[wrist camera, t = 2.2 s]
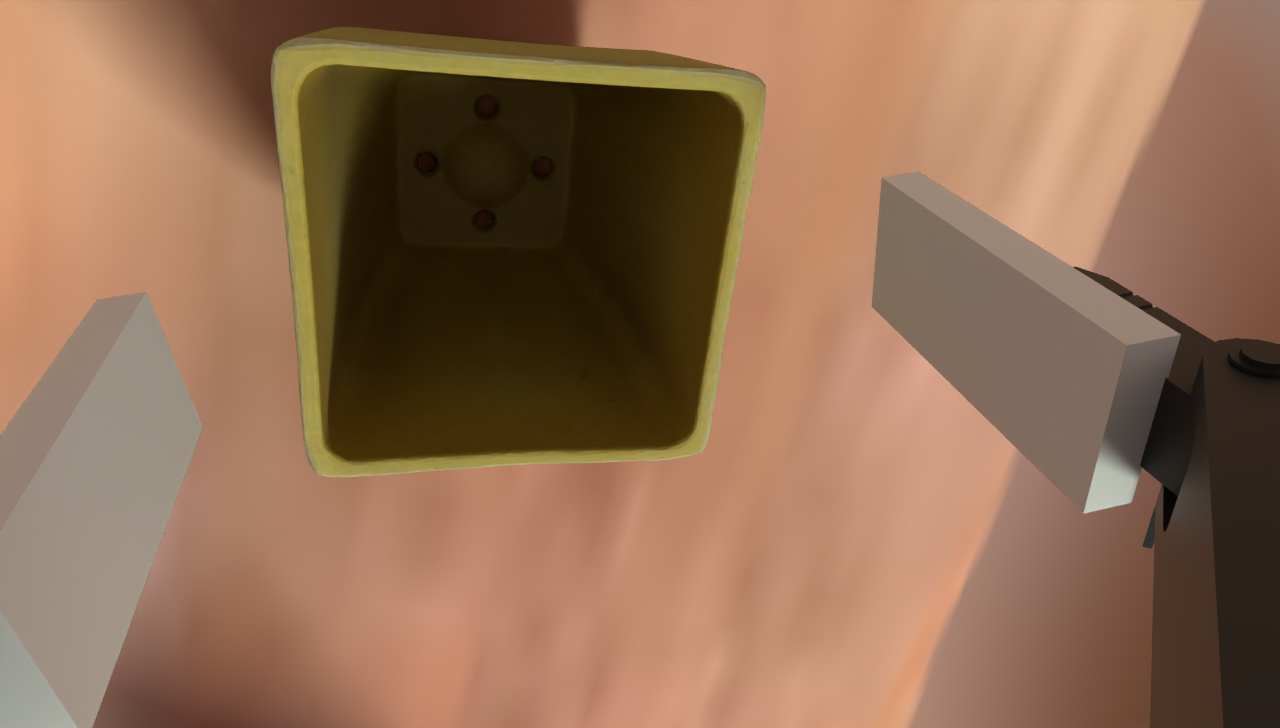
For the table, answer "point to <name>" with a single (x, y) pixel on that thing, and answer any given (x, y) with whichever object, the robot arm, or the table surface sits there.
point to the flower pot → (508, 247)
